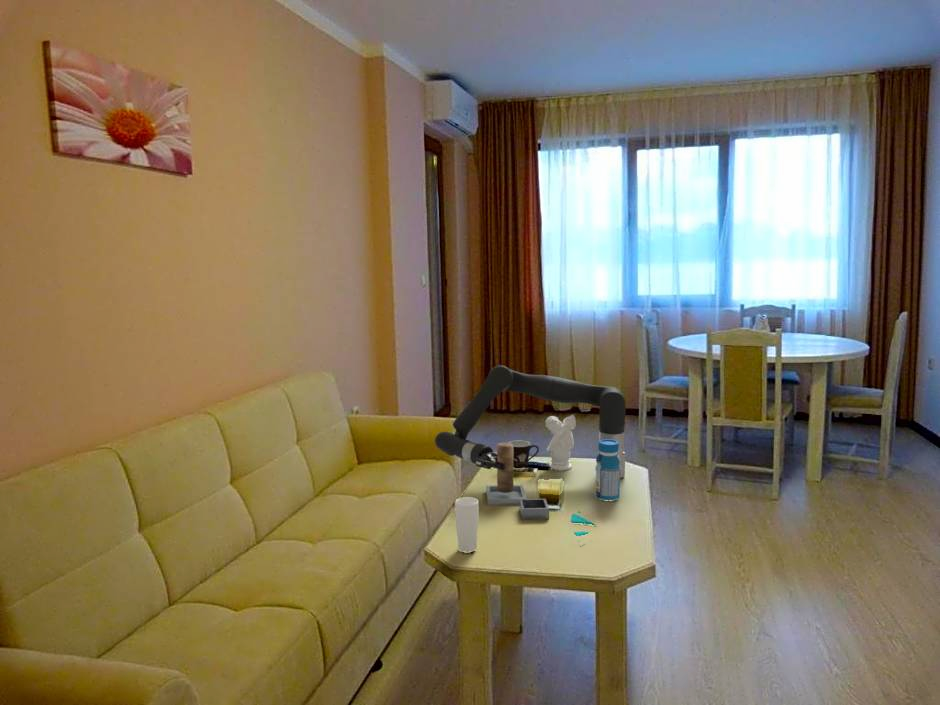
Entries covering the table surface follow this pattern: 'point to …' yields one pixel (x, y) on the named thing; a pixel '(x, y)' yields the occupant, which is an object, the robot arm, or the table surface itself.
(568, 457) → the cherub figurine
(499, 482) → the canister
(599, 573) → the table surface
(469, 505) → the drinking glass
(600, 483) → the beverage bottle
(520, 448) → the coffee mug
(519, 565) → the table surface
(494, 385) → the robot arm
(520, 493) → the tray
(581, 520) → the cloth
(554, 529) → the table surface
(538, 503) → the holder cup
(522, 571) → the table surface
